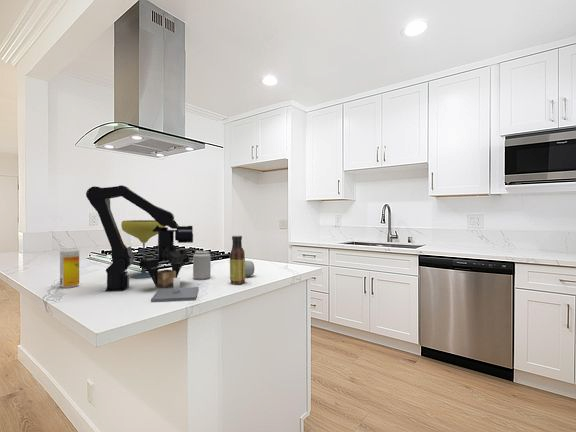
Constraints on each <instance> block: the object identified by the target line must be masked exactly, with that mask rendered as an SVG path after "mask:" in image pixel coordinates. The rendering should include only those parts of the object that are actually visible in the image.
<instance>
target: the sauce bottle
mask: <svg viewBox="0 0 576 432" xmlns="http://www.w3.org/2000/svg"><path fill="white" fill-rule="evenodd" d="M231 239H232V246H231V251H230V254H229V280H230V284H232V285H242V284H244V283H246V277H245V261H246V257H245V250H244V248H243V245H242V242H243V241H242V239H243V236H242V235H239V234H238V235H232V236H231Z"/></svg>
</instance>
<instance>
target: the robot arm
mask: <svg viewBox="0 0 576 432" xmlns="http://www.w3.org/2000/svg"><path fill="white" fill-rule="evenodd" d="M85 196H86V199H87V200H88V202H89V203H90V205H91V206H92V207H93V208H94V210H95V211H96V212H97V214H98V217H99V219H100V222H101V224H102V227H103V230H104V232H105V234H106V237H107V240H108V243H109V245H110V247H111V253H110V254H111V260H112V263H111V264H110V265H109V266H108V267H107V268H106V269H105V272H106V288H105V292H110V291H111V292H113V291H125V290H127V288H129V287H130V275H129V273H128V271H127V270H128V268H129V267H130V266H131V265H133V263H134V257H135V254H134V253H133V250H132V246H128V247H127V245H126V244H124V241H123V239H122V235H121V233H120V231H119V228H118V225H117V223H116V220H115V218H114V214H113V212H112V209H111V199H114V198H115V199H116V198H120V197H122V198H124V199H125V200H127V201H129V202H130V203H131V204H133V205H134V206H136V207H138V208H140V209H141V210H143V211H145V212H146V213H147V214H148V215H150V216H151V218H152V219H153V220H156V221H157V222H158V223H159V224H160V225H162V226H165V227H159V226H158V225H157V226H156V228H155V229H154V230H153V232H158V234H157V245H155V249H157V255H155V258H151V257H150V258H145V259H143V258H142V259H141V260H139V268H142V269H143V268H144V269H145V270H146V272H147V273H149V274H150V276H151V277H150V279H152V282H153V284H154V286H155V285H157V282H158V271H160V267H158V266H159V265H162V264H167V263H170V264H171V270H173V271H176V278H178V276H179V273H180V271H181V268H182V267H183V266H184V265H186V264H187V263H190V256H189V255H188V253H187V252H188V251H187V250H186V249H181V250H177V246H176V245H174V244H175V243H174V241H176V242H177V243H179V244H181V243H182V244H183V243H186V244H187V243H188V244H189V243H191V244H192V243H194V233H193V231H194V229H193V225H181V226H180V225H179V224H178V223H177V222H176V220H175V215H174V214H173V212H171V211H170V210H166V209H164V208H162V207H159V206H157V205H155V204H154V203H152V202H150V201H148V200H147V199H145V198H144V197H143V196H141V195H139V194H137V193H136V192H134V191H133V190H132V189H130V188H129V187H128V186H126V185H123V184H122V185H118V186H109V187H101V186H91V187H89V188H88V189H87V191H86V192H85ZM168 227H169V228H170V229H169V228H168Z"/></svg>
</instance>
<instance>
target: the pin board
mask: <svg viewBox="0 0 576 432" xmlns="http://www.w3.org/2000/svg"><path fill="white" fill-rule="evenodd" d="M199 288H200V287H199V286H192V287H191V286H189V287H181V278H180V277H177V278H174V279H173V287H170V288H158V289H157V291H156V292H155V293H154V295H153V296H152V297H151V299H150V303H160V302H161V303H162V302H163V303H164V302H184V301H185V302H186V301H196V300H197V296H198V293H199Z"/></svg>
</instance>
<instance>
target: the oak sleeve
mask: <svg viewBox="0 0 576 432" xmlns="http://www.w3.org/2000/svg"><path fill="white" fill-rule="evenodd" d="M174 278H176V271H173V270H172V269H169V268H168V269H161V270H158V282H157V285H155V284H154V286H155V288H158V289H159V288H173V279H174Z"/></svg>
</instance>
